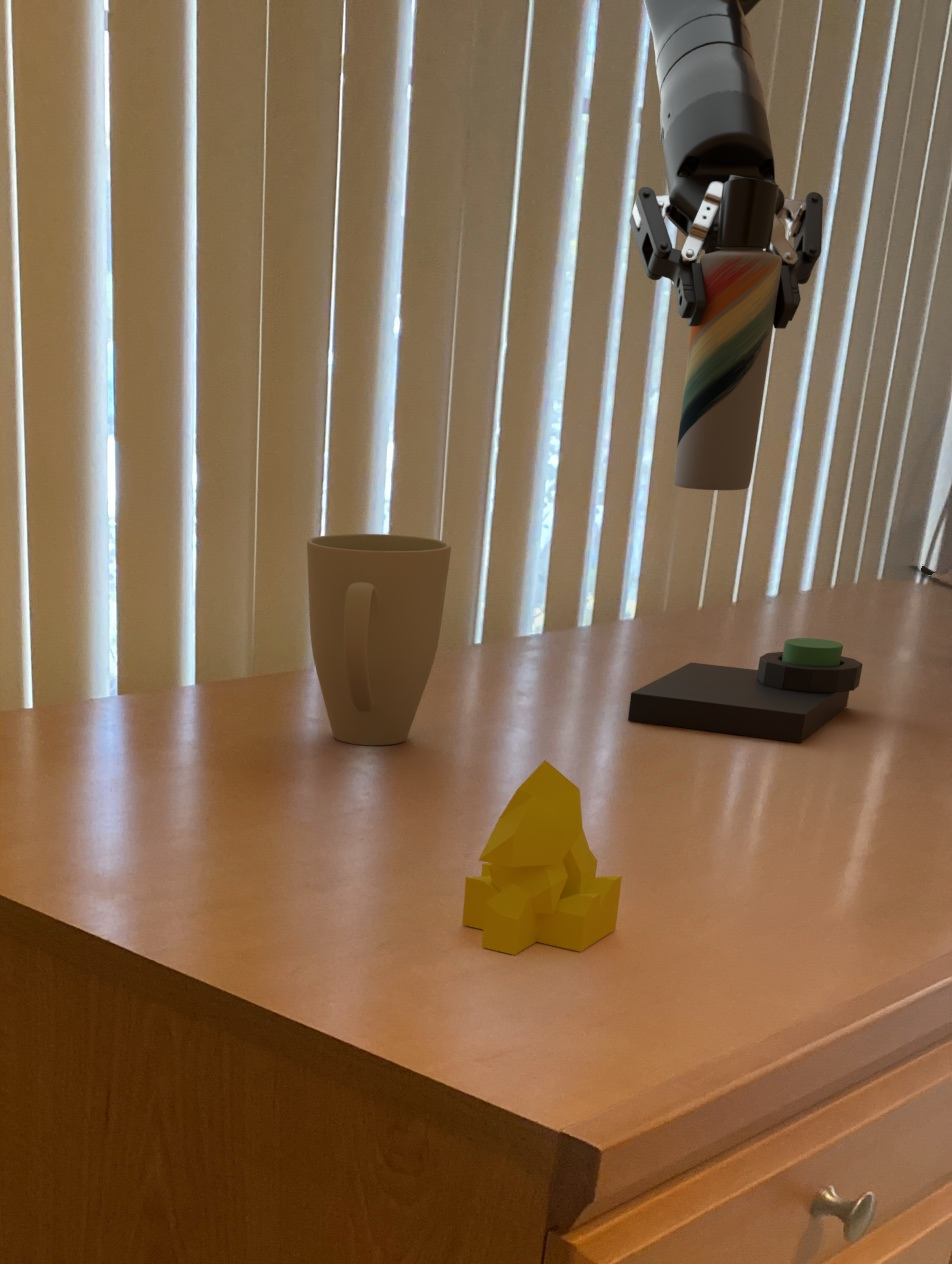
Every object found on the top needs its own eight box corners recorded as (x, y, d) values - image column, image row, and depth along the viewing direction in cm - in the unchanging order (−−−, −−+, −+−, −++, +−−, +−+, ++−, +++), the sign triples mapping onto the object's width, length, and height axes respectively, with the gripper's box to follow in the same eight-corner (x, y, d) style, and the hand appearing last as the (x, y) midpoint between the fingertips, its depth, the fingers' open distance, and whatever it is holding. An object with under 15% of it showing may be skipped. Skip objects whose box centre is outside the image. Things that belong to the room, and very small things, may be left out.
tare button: (789, 658, 119) (792, 636, 118) (844, 664, 117) (848, 642, 116) (775, 666, 116) (778, 643, 115) (832, 672, 114) (836, 650, 113)
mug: (265, 729, 108) (268, 536, 103) (393, 717, 112) (403, 531, 107) (345, 767, 100) (354, 558, 94) (481, 752, 104) (497, 552, 98)
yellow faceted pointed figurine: (634, 917, 75) (655, 748, 72) (559, 965, 70) (578, 784, 66) (520, 893, 78) (535, 729, 75) (439, 937, 72) (451, 762, 69)
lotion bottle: (687, 482, 126) (725, 178, 116) (759, 487, 123) (804, 176, 114) (661, 487, 121) (698, 172, 112) (736, 492, 119) (780, 170, 109)
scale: (688, 686, 125) (695, 639, 123) (861, 707, 119) (870, 658, 118) (627, 720, 113) (633, 668, 112) (814, 745, 108) (824, 691, 106)
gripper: (632, 83, 116) (657, 272, 111) (828, 90, 117) (861, 277, 112) (605, 176, 123) (627, 357, 118) (790, 181, 124) (819, 361, 119)
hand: (741, 317), depth 115 cm, fingers closed on lotion bottle, 5 cm apart
